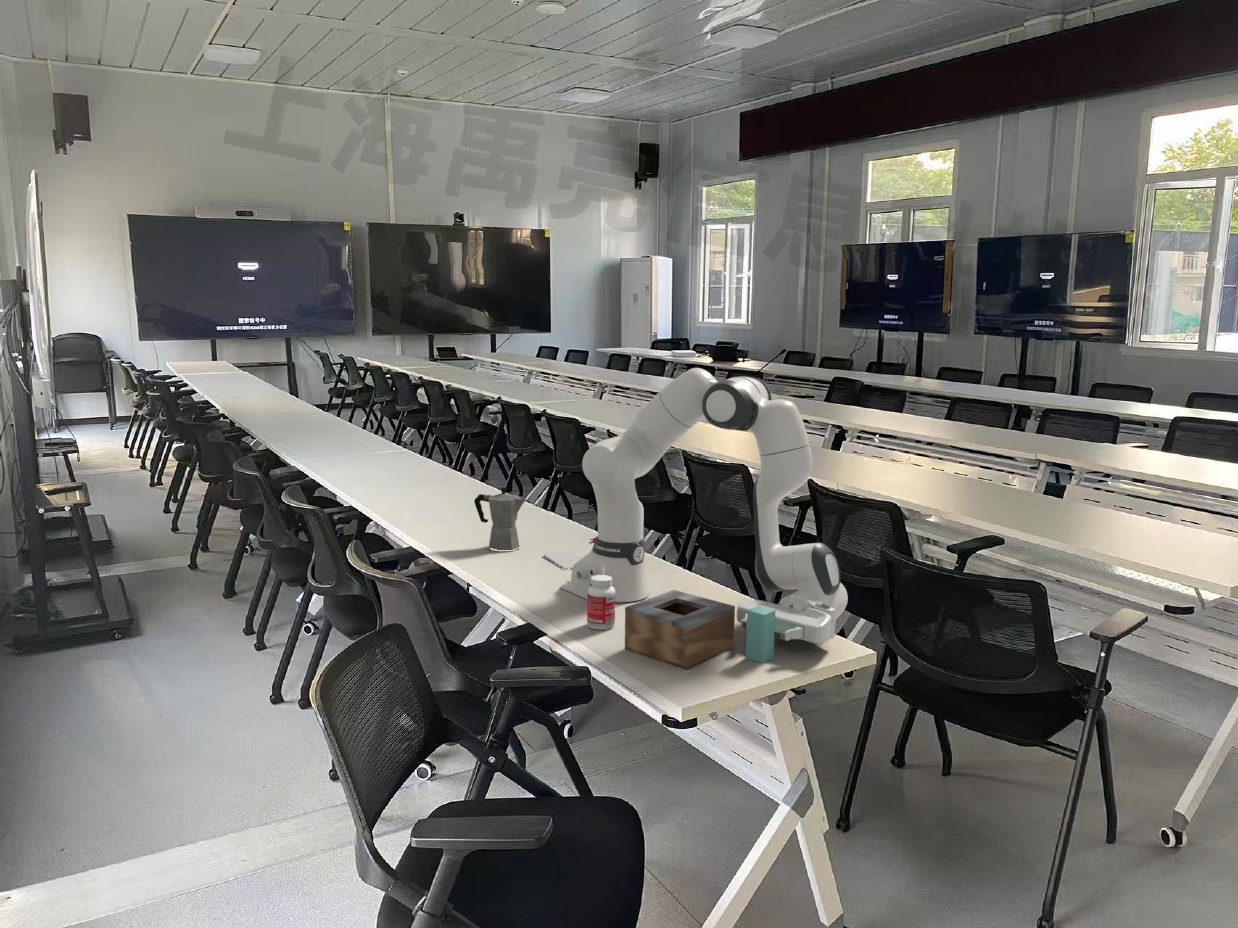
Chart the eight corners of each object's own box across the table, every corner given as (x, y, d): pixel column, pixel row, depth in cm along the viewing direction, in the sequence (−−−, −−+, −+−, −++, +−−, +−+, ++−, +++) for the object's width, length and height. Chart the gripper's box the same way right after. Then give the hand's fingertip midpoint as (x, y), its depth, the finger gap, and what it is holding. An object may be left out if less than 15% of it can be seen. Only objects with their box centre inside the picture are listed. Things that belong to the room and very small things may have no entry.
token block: (745, 657, 185) (747, 610, 183) (756, 652, 188) (758, 605, 186) (762, 663, 182) (764, 614, 181) (773, 657, 185) (775, 610, 184)
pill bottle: (608, 632, 199) (609, 583, 197) (582, 628, 201) (582, 579, 199) (619, 623, 204) (619, 575, 202) (593, 619, 206) (594, 572, 205)
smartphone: (564, 568, 245) (542, 554, 258) (564, 572, 245) (542, 557, 258) (592, 565, 249) (569, 551, 262) (592, 568, 249) (569, 554, 262)
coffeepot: (530, 545, 270) (530, 485, 267) (521, 553, 261) (521, 491, 258) (480, 542, 273) (479, 483, 270) (469, 550, 264) (468, 489, 261)
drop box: (624, 649, 189) (625, 607, 187) (672, 629, 201) (673, 589, 199) (686, 669, 179) (687, 625, 177) (733, 647, 190) (734, 605, 189)
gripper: (757, 589, 201) (721, 604, 191) (842, 610, 188) (808, 627, 178) (756, 616, 202) (720, 633, 192) (840, 639, 189) (806, 658, 179)
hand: (763, 630), depth 185 cm, fingers open, 8 cm apart
